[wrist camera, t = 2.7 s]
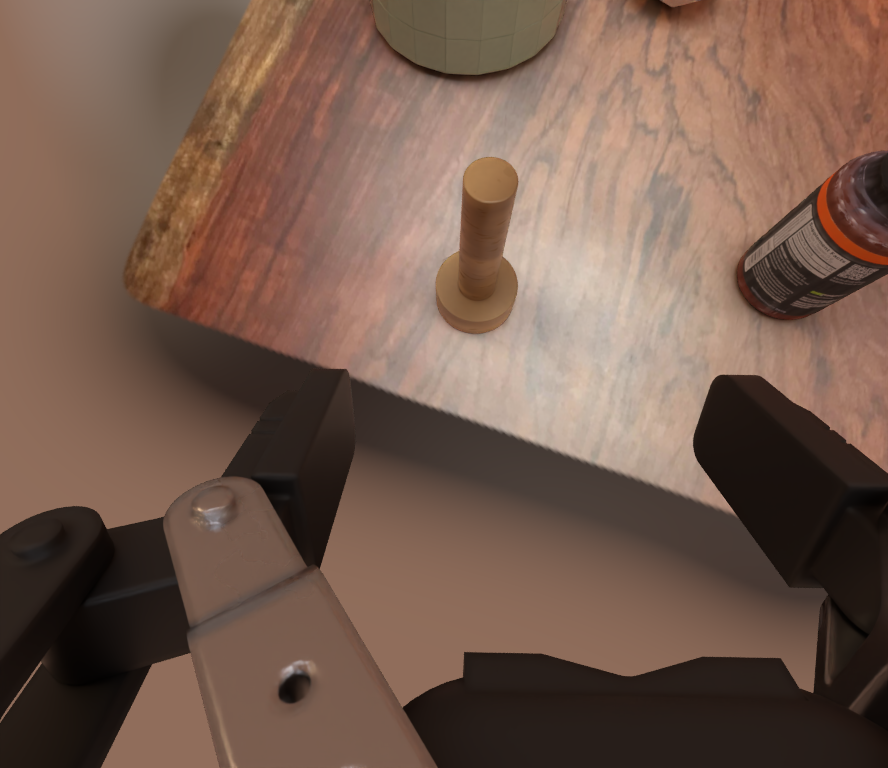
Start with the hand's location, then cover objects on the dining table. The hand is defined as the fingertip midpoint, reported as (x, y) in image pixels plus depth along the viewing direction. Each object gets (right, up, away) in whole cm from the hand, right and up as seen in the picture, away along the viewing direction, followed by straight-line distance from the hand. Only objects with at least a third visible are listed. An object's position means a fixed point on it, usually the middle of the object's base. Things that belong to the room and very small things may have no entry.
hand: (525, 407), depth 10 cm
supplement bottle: (+21, +7, +21) cm, 30 cm away
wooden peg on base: (0, +6, +21) cm, 21 cm away
